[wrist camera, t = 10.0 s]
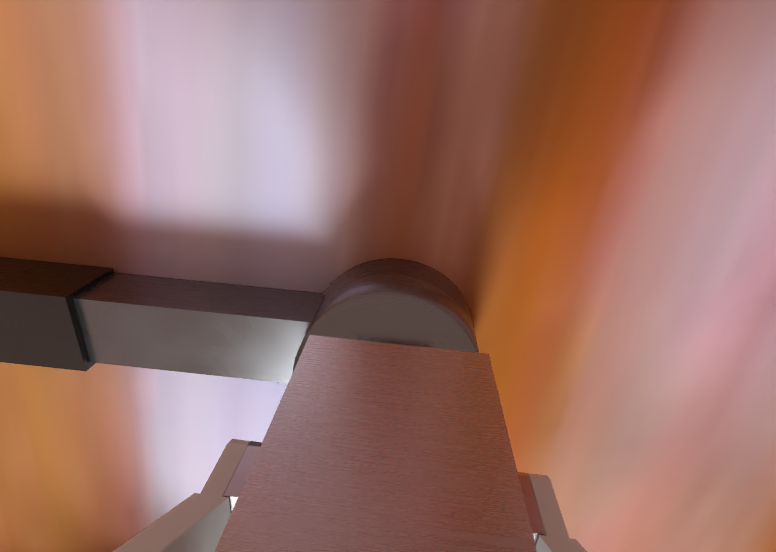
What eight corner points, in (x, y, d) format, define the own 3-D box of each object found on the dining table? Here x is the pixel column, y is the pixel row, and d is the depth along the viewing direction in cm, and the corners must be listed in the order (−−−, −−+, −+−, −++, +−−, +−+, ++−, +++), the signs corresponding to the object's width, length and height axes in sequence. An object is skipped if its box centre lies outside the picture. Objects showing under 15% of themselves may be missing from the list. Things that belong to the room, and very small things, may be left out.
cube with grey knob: (488, 353, 12) (573, 701, 5) (461, 479, 14) (496, 838, 7) (309, 334, 12) (171, 648, 5) (309, 462, 14) (211, 797, 7)
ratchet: (484, 267, 16) (532, 407, 9) (460, 399, 19) (482, 584, 12) (-45, 216, 17) (-370, 311, 10) (6, 351, 19) (-221, 499, 12)
